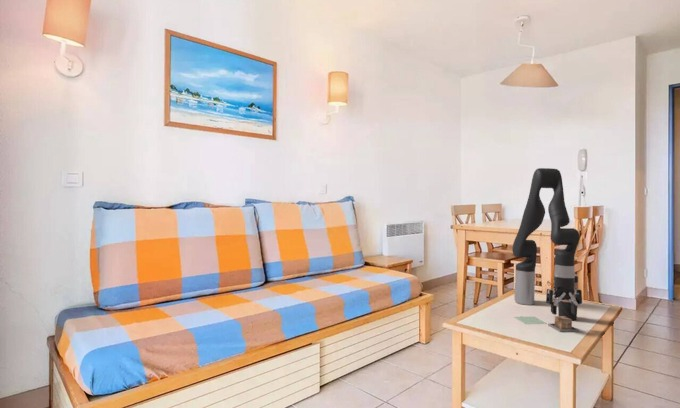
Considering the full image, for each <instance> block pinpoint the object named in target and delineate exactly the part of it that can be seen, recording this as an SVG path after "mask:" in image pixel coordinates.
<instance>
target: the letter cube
mask: <svg viewBox="0 0 680 408" xmlns="http://www.w3.org/2000/svg"><path fill="white" fill-rule="evenodd" d="M554 323H555V327H557V328H558V329H560V330H569V329H572V327H573V321H572V319H570V318H568V317H566V316H558V315H557V316H556V315H555V316H554Z"/></svg>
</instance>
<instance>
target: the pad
mask: <svg viewBox="0 0 680 408" xmlns="http://www.w3.org/2000/svg"><path fill="white" fill-rule="evenodd" d="M513 318H515V319H516V320H518V321H520V322H521V323H523V324H524V325H547V324H548V322H547V323H546V321H545V322H544V321H543V320H542V319H540V318H538V317H536V316H513Z"/></svg>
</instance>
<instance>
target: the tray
mask: <svg viewBox="0 0 680 408" xmlns="http://www.w3.org/2000/svg"><path fill="white" fill-rule="evenodd" d="M547 324H548V325H547V326H548V327H551V328H552V329H553V330H556V331H557V332H559V333H579V329H578V328H576V327H574V326H572V329H569V330H560V329H558V328H557V327H555V322H554V323H547Z"/></svg>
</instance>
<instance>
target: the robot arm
mask: <svg viewBox="0 0 680 408" xmlns="http://www.w3.org/2000/svg"><path fill="white" fill-rule="evenodd" d="M562 177H563V176H562V173H561V171H560V170H559V169H558V168H549V167H548V168H545V167H544V168H543V167H540V168H536V169H535V171H534V172H533V175H532V178H531V183H530V189H529V193H528V194H529V195H528V197H527V201H526V205H525V207H524V211H523V215H522V218H521V222H520V225H519V228H518V231H517V234H516V235H515V239H514V241H513V243H512V248H511V249H512V250H511V251H512V254H513V256H515V257H517V258H525V259H524V260H523V261H521V262H518V263H516V264H515V278H514V280H515V281H514V302H515V303H516V304H520V305H525V306H526V305H528V306H529V305H535V293H536V292H535V291H536V290H535V286H536V283H535V282H536V265H537V254H538V252H537V251H538V246H537V243H536V241H535V240H533V239H528V237H530V235H531V234H532V233H534V232H535V231H536V230H538V229H539V228H540V226H541V225H542V223H543V221H544V218H545V215H546V208H545V205H544V203H543V202H542V199H541V197H540V196H541V195H540V193H541V190H542V189H552V191H553V196H552V198H551V200H550V202H549V204H548V209H547V210H548V211H547V212H548V215H549V218H550V223H551V225H550V226H551V229H550V230H551V231H550V240H551V242H552V243H553V244H554V245H556V246H557V245H558V246H566V247H565V248H564V249H560V250H557V251H555V254H554V257H555V258H554V269H553V271H554V272H553V273H554V274H553V285H554V288H553V289H550V288H547V289H546V298H545V303H547V304H549V305H550V312H551V314H552V315H555V316H556V315H557V311H558V309H557V307H558V306H557V305H558V302H560V301H561V300H569V301H570V302H571V303H572V304H571V313H572V314H576V313H577V314H578V306H579V305H581V304H582V303H583V295H582V294H583V293H582V290H581V289H579V288H578V289H575V290H574V287H575V276H576V270H575V256H576V252H577V248H578V246H579V243H580V238H581V235H580V232H579V231H578V229H576V228H570V227H569V228H567V227H566V226H568V225H569V224H570V221H571V220H570V216H569V213H568V210H567V207H566V203H565V193H564V185H563V178H562ZM564 227H566V228H564ZM574 293H575V298H574V297H573V294H574Z"/></svg>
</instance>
